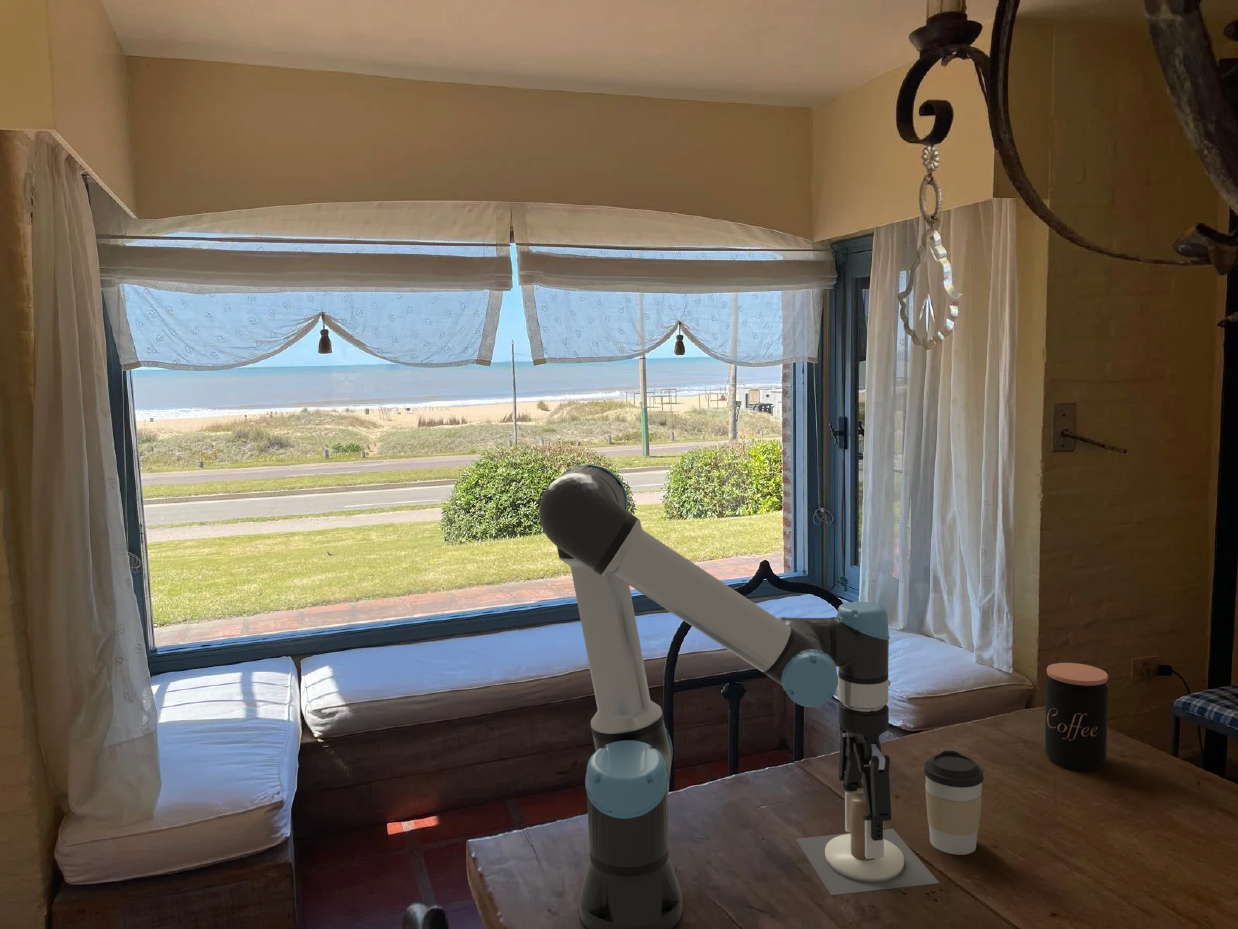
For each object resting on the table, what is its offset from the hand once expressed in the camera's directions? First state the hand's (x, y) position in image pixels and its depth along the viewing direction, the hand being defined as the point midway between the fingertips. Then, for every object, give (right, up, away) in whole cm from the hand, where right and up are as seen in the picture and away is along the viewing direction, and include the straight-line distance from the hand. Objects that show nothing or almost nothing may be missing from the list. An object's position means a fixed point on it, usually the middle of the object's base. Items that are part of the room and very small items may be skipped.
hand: (863, 843), depth 138 cm
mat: (0, -4, 0) cm, 4 cm away
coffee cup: (+16, -3, +4) cm, 17 cm away
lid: (0, -3, 0) cm, 3 cm away
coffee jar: (+51, +1, +34) cm, 61 cm away
